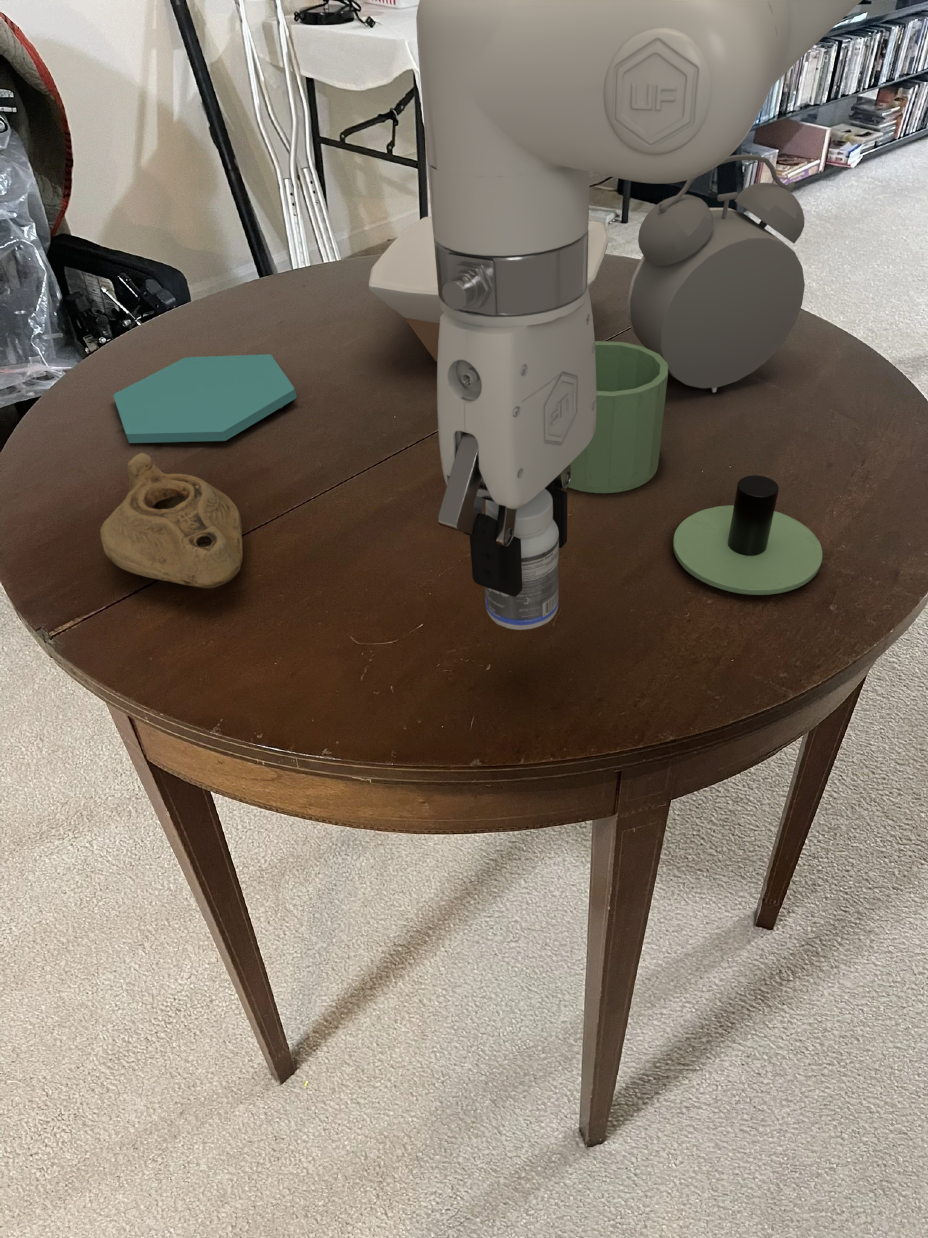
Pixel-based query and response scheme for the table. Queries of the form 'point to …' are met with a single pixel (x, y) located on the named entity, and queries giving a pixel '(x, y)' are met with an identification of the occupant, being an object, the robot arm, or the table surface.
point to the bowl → (413, 278)
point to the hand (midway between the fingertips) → (520, 561)
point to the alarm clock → (718, 281)
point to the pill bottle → (530, 568)
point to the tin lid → (748, 544)
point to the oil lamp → (174, 528)
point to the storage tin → (623, 420)
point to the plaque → (203, 399)
